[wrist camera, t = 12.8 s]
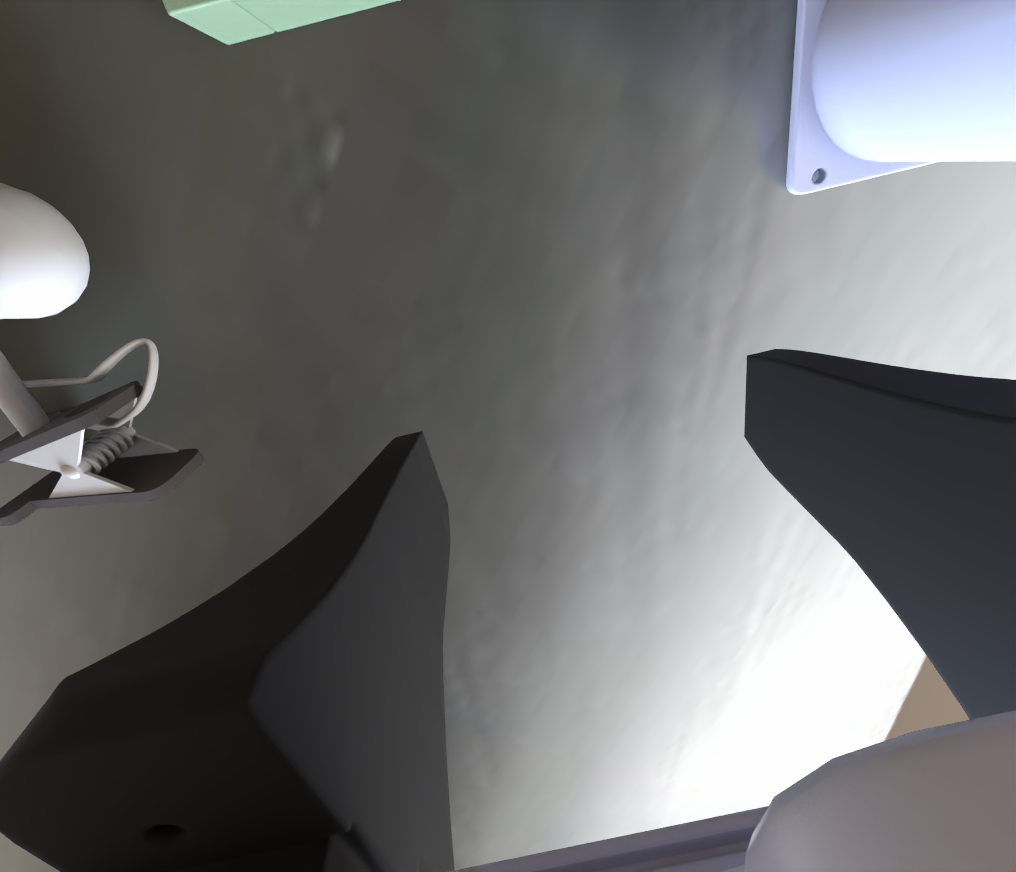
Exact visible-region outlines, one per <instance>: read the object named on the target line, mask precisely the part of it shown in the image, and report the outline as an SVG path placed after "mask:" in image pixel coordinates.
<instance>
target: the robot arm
mask: <svg viewBox="0 0 1016 872" xmlns="http://www.w3.org/2000/svg"><path fill="white" fill-rule="evenodd" d="M940 161H1016V0H798V6H797V21H796V37H795V52H794V68H793V83H792V99H791V114H790V130H789V146H788V161H787V177H786V186H787V189H788V191H789V192H790V193H792V194H807V193H811V192H815V191H819V190H824V189H828V188H832V187H836V186H840V185H844V184H848V183H853V182H857V181H861V180H865V179H869V178H873V177H878V176H882V175H886V174H890V173H894V172H898V171H903V170H907V169H911V168H915V167H919V166H923V165H928V164H932V163H936V162H940ZM817 169H818V170H819V177H818V179H817V180H816V182H814V183H813V182H812V175H813V173H814V172H815V170H817ZM744 437H745V438H746V440H747V441H748V443H749V444H750V446H751V447H752V449H753V450H754V452H755V453H756V455H757V456H758V457H759V459H760V460H761V461H762V463H763V464H764V465H765V467H766V468H767V469H768V471H769V472H770V473H771V474H772V475H773V476H774V477H775V478H776V479H777V480H778V481H779V482H780V483H781V484H782V485H783V486H784V488H785V489H786V490H787V491H788V492H789V493H790V494H791V495H792V496H793V497H794V498H795V499H796V500H797V501H798V502H799V503H800V504H801V505H802V506H803V507H804V508H805V509H806V510H807V511H808V512H809V513H810V514H811V515H812V516H813V517H814V518H815V519H816V520H817V521H818V522H819V523H820V524H821V525H822V526H823V527H824V528H825V529H826V530H827V531H828V532H829V533H830V534H831V535H832V536H833V537H834V538H835V539H836V540H837V541H838V542H839V543H840V545H841V546H842V547H843V548H844V549H845V550H846V551H847V552H848V553H849V555H850V556H851V557H852V558H853V559H854V560H855V561H856V562H857V564H858V565H859V566H860V568H861V569H862V570H863V571H864V573H865V574H866V575H867V576H868V578H869V579H870V580H871V581H872V583H873V584H874V585H875V587H876V588H877V589H878V590H879V592H880V593H881V594H882V595H883V597H884V598H885V599H886V600H887V602H888V603H889V604H890V606H891V607H892V609H893V610H894V611H895V613H896V614H897V615H898V617H899V618H900V619H901V621H902V622H903V623H904V625H905V626H906V627H907V629H908V630H909V632H910V633H911V634H912V636H913V637H914V638H915V640H916V641H917V642H918V644H919V645H920V646H921V648H922V649H923V651H924V652H925V654H926V655H927V657H928V658H929V659H930V661H931V662H932V664H933V665H934V667H935V668H936V670H937V671H938V673H939V674H940V675H941V677H942V678H943V680H944V681H945V683H946V684H947V686H948V687H949V689H950V690H951V691H952V693H953V694H954V696H955V697H956V699H957V700H958V702H959V703H960V705H961V706H962V708H963V709H964V711H965V712H966V714H967V716H968V717H969V719H970V720H966V721H962V722H957V723H952V724H947V725H942V726H938V727H934V728H928V729H923V730H919V731H914V732H910V733H907V734H904V735H902V736H898V737H896V738H893V739H890V740H887V741H884V742H881V743H878V744H875V745H872V746H869V747H866V748H863V749H860V750H857V751H854V752H851V753H848V754H845V755H842V756H839V757H836V758H833V759H832V760H830V761H829V762H827V763H825V764H824V765H822V766H821V767H819V768H818V769H816V770H815V771H813V772H812V773H810V774H809V775H807V776H806V777H804V778H803V779H801V780H800V781H798V782H797V783H795V784H793V785H792V786H790V787H789V788H787V789H786V790H784V791H783V792H781V793H780V794H778V795H777V796H775V797H774V799H773V800H772V802H771V804H770V805H769V806H767V807H762V808H757V809H752V810H747V811H743V812H738V813H733V814H728V815H723V816H718V817H713V818H708V819H704V820H699V821H694V822H689V823H684V824H679V825H674V826H670V827H665V828H660V829H655V830H650V831H645V832H640V833H635V834H631V835H626V836H621V837H616V838H611V839H606V840H601V841H596V842H592V843H587V844H582V845H577V846H572V847H567V848H562V849H558V850H553V851H548V852H543V853H538V854H533V855H528V856H523V857H519V858H514V859H509V860H504V861H499V862H494V863H489V864H484V865H480V866H475V867H470V868H465V869H460V870H455V871H454V859H453V846H452V833H451V820H450V806H449V789H448V773H447V756H446V736H445V713H444V685H443V628H444V616H445V604H446V591H447V579H448V567H449V553H450V527H449V513H448V503H447V500H446V497H445V494H444V492H443V489H442V486H441V483H440V480H439V477H438V474H437V471H436V469H435V466H434V463H433V460H432V457H431V454H430V451H429V448H428V446H427V443H426V440H425V437H424V434H423V431H421V432H417V433H413V434H408V435H404V436H400V437H396V438H395V439H393V440H392V441H391V442H390V443H389V444H388V445H387V446H386V447H385V448H384V449H383V450H382V452H381V453H380V454H379V455H378V456H377V457H376V458H375V459H374V460H373V462H372V463H371V464H370V465H369V466H368V467H367V468H366V469H365V470H364V472H363V473H362V474H361V475H360V476H359V477H358V478H357V479H356V480H355V481H354V482H353V484H352V485H351V486H350V487H349V488H348V489H347V490H346V491H345V492H344V493H343V494H342V495H341V496H340V497H339V498H338V499H337V500H336V501H335V502H334V503H333V504H332V505H331V506H330V507H329V508H328V509H327V510H326V511H325V512H324V513H323V514H322V515H321V516H320V517H318V518H317V519H316V520H315V521H314V522H313V523H312V524H311V525H310V526H308V527H307V528H306V529H305V530H304V531H303V532H301V533H300V534H299V535H298V536H297V537H295V538H294V539H293V540H292V541H291V542H289V543H288V544H287V545H286V546H284V547H283V548H282V549H281V550H279V551H278V552H277V553H275V554H274V555H273V556H271V557H270V558H269V559H267V560H266V561H264V562H263V563H262V564H260V565H259V566H257V567H256V568H255V569H253V570H252V571H250V572H249V573H247V574H246V575H245V576H243V577H242V578H240V579H239V580H238V581H236V582H235V583H233V584H232V585H231V586H229V587H228V588H226V589H224V590H223V591H221V592H220V593H218V594H217V595H215V596H213V597H212V598H210V599H209V600H207V601H206V602H204V603H202V604H201V605H199V606H198V607H196V608H194V609H192V610H191V611H189V612H187V613H186V614H184V615H182V616H181V617H179V618H177V619H176V620H174V621H172V622H170V623H169V624H167V625H165V626H163V627H162V628H160V629H158V630H156V631H155V632H153V633H151V634H149V635H147V636H145V637H144V638H142V639H140V640H138V641H136V642H134V643H132V644H130V645H128V646H126V647H124V648H123V649H121V650H119V651H117V652H115V653H113V654H111V655H109V656H107V657H105V658H103V659H101V660H100V661H98V662H96V663H94V664H92V665H90V666H88V667H86V668H84V669H82V670H80V671H78V672H76V673H74V674H72V675H70V676H68V677H66V678H65V679H64V680H63V681H62V682H61V683H60V684H59V685H58V687H57V688H56V689H55V691H54V692H53V693H52V695H51V696H50V697H49V699H48V700H47V701H46V703H45V704H44V705H43V706H42V708H41V709H40V710H39V712H38V713H37V714H36V716H35V717H34V718H33V719H32V721H31V722H30V723H29V725H28V726H27V727H26V728H25V730H24V731H23V732H22V734H21V735H20V736H19V737H18V739H17V740H16V741H15V743H14V744H13V745H12V746H11V748H10V749H9V750H8V752H7V753H6V754H5V756H4V757H3V758H2V759H1V761H0V832H1V833H2V834H4V835H5V836H6V837H7V838H9V839H10V840H11V841H12V842H14V843H15V844H17V845H18V846H20V847H21V848H23V849H25V850H26V851H28V852H29V853H31V854H33V855H34V856H36V857H38V858H39V859H41V860H42V861H44V862H46V863H47V864H49V865H50V866H52V867H54V868H55V869H57V870H59V871H60V872H1016V380H1010V379H997V378H984V377H974V376H964V375H955V374H947V373H940V372H932V371H925V370H917V369H910V368H903V367H897V366H890V365H884V364H878V363H872V362H866V361H860V360H855V359H849V358H843V357H837V356H831V355H825V354H819V353H813V352H805V351H798V350H787V349H774V350H769V351H765V352H761V353H757V354H752V355H748V356H747V374H746V405H745V435H744Z"/></svg>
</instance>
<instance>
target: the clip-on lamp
mask: <svg viewBox="0 0 1016 872" xmlns="http://www.w3.org/2000/svg"><path fill="white" fill-rule="evenodd" d="M89 273H90V265H89V255H88V252H87V250H86V247H85V245H84V242H83V240H82V238H81V237H80V236H79V234H78V233H77V231H76V230H75V228H74V227H73V225H72V224H71V223H70V222H69V221H68V220H67V219H66V218H65V217H64V216H63V215H62V214H61V213H60V212H59V211H58V210H57V209H55V208H54V207H53V206H51V205H50V204H48V203H47V202H45V201H43V200H42V199H40V198H38V197H37V196H35V195H33V194H32V193H29V192H26V191H23V190H20V189H17V188H14V187H11V186H9V185H6V184H3V183H1V182H0V319H20V318H42V317H46V316H51V315H55V314H58V313H60V312H61V311H63V310H64V309H66V308H67V307H69V306H70V305H72V304H73V303H75V302H76V301H77V300H78V298H79V297H80V295H81V294H82V292H83V291H84V289H85V288H86V286H87V282H88V278H89ZM144 344H146V345H147V346H148V350H149V364H148V371H147V377H146V381H145V384H144V388H143V387H142V386H141V385H140V383H139V382H138V381H134V382H131V383H129V384H127V385H124V386H122V387H120V388H118V389H115V390H113V391H111V392H108V393H106V394H104V395H102V396H99V397H97V398H95V399H92V400H90V401H88V402H86V403H83V404H81V405H79V406H76V407H74V408H72V409H70V410H67V411H65V412H63V413H61V412H60V411H57V412H54V413H51V414H48V415H46V414H45V412H44V411H43V410H42V408H41V407H40V405H39V404H38V403H37V401H36V400H35V398H34V397H33V396H32V394H31V393H30V391H29V390H28V389H27V388H33V387H49V386H64V385H78V384H88V383H93V382H97V381H100V380H102V379H103V378H104V377H105V376H106V375H107V373H108V372H109V371H110V370H111V369H112V368H113V367H114V366H115V365H116V364H117V363H118V362H119V361H120V360H121V359H122V358H124V357H125V356H126V355H127V354H129V353H130V352H131V351H133V350H134V349H136V348H137V347H139V346H141V345H144ZM158 365H159V360H158V351H157V348H156V345H155V344H154V343H153V342H152V341H151V340H149V339H145V338H140V339H136V340H133V341H131V342H130V343H128V344H126V345H124V346H123V347H121V348H120V349H118V350H117V351H116V352H114V353H113V354H112V355H110V356H109V357H108V358H107V359H106V360H104V361H103V362H102V363H101V364H100V365H99V366H98V367H97V368H96V369H95V370H94V371H93V372H92V373H91V374H90V375H89V376H88V377H76V378H60V379H44V380H28V381H22V380H21V379H20V377H19V376H18V375H17V373H16V372H15V370H14V369H13V368H12V366H11V365H10V363H9V362H8V361H7V359H6V358H5V356H4V355H3V354H2V352H1V351H0V408H1V410H2V411H3V412H4V413H5V415H6V416H7V417H8V419H9V420H10V421H11V423H12V424H13V425H14V426H15V428H16V429H17V430H18V432H16V433H14V434H13V435H11V436H9V437H8V438H6V439H4V440H2V441H1V442H0V463H3V462H5V461H8V460H10V461H15V462H19V463H23V464H27V465H31V466H36V467H40V468H44V469H48V470H52V472H51V473H49V474H48V475H47V476H45V477H44V478H42V479H41V480H40V481H38V482H37V483H35V484H34V485H33V486H31V487H30V488H28V489H27V490H25V491H24V492H23V493H21V494H20V495H18V496H17V497H16V498H14V499H13V500H11V501H10V502H9V503H7V504H6V505H4V506H3V507H2V508H0V527H1V526H9V525H13V524H16V523H18V522H20V521H22V520H23V519H25V518H26V517H27V516H29V515H30V514H31V513H33V512H34V511H35V510H37V509H40V508H54V507H68V506H82V505H95V504H109V503H123V502H136V501H150V500H154V499H158V498H161V497H163V496H165V495H167V494H168V493H170V492H171V491H173V490H174V489H175V488H177V487H178V486H179V485H180V484H181V483H182V482H183V481H184V480H185V479H186V478H187V477H188V476H189V475H190V474H191V473H192V472H194V471H195V470H196V469H197V468H198V467H199V466H200V465H201V463H202V462H203V461H204V458H203V456H202V455H201V453H200V452H199V450H198V449H184V450H178V449H175V448H173V447H170V446H168V445H165V444H163V443H160V442H157V441H155V440H152V439H150V438H147V437H145V436H142V435H140V434H137V433H136V432H135V430H134V428H133V427H132V421H133V418H134V417H135V416H136V415H138V414H139V413H140V412H141V411H142V410H143V409H144V408H145V407H146V405H147V404H148V402H149V401H150V399H151V396H152V394H153V391H154V389H155V384H156V380H157V375H158ZM138 396H140V397H139V400H138V401H137V397H138ZM136 401H137V402H136ZM86 428H87V429H91V430H96V431H97V432H96V433H95V435H92V436H90V437H89V438H88V439H87V440H84V441H83V439H84V431H85V429H86Z"/></svg>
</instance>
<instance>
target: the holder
mask: <svg viewBox="0 0 1016 872" xmlns="http://www.w3.org/2000/svg"><path fill="white" fill-rule="evenodd" d="M162 1H163V3H164V6H165V8H166V10H167V12H168V14H169V15H170V16H172V17H174V18H176V19H178V20H180V21H182V22H184V23H186V24H188V25H190V26H192V27H194V28H196V29H198V30H200V31H202V32H203V33H205V34H207V35H209V36H211V37H213V38H215V39H217V40H219V41H221V42H223V43H225V44H228V45H230V44H234V43H238V42H242V41H245V40H249V39H253V38H257V37H261V36H265V35H268V34H272V33H274V32H275V31H276V32H280V31H284V30H288V29H292V28H296V27H300V26H303V25H307V24H311V23H315V22H319V21H323V20H326V19H330V18H334V17H338V16H342V15H345V14H349V13H353V12H357V11H361V10H365V9H368V8H372V7H376V6H380V5H384V4H388V3H391V2H395V1H399V0H162Z"/></svg>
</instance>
